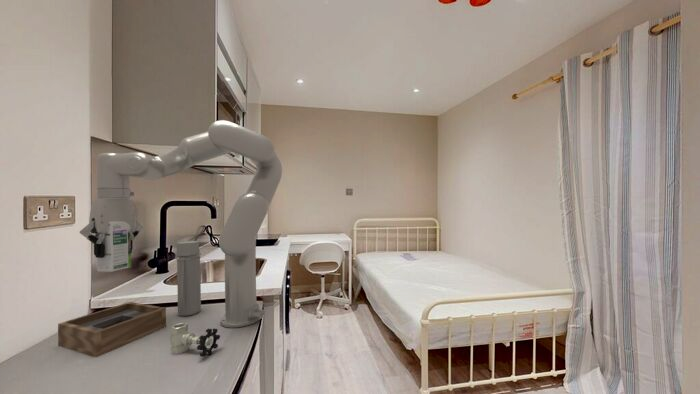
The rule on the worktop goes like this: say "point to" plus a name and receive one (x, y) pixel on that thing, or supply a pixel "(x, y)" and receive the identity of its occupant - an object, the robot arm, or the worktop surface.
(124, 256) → the syrup box
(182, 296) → the water bottle
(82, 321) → the socket box
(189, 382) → the worktop surface
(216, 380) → the worktop surface
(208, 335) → the valve
